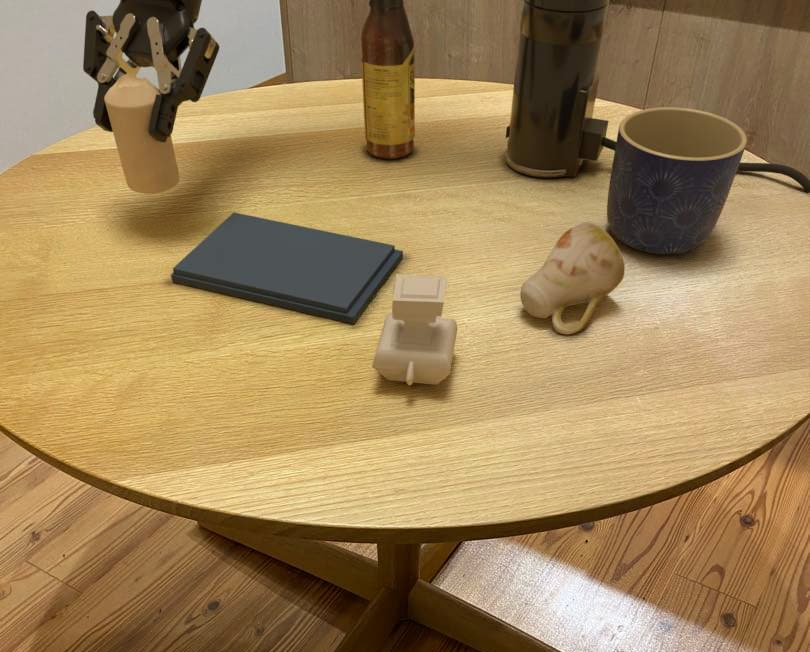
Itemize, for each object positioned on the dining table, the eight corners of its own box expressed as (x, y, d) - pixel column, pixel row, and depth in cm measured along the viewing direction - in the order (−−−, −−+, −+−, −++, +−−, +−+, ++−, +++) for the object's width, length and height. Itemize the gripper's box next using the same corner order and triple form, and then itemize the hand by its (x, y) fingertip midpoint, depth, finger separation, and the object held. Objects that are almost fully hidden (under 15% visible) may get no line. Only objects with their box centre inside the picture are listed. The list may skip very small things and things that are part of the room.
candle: (125, 174, 85) (98, 71, 77) (176, 167, 86) (155, 66, 78) (129, 197, 82) (101, 93, 74) (183, 190, 83) (161, 86, 75)
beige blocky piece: (386, 338, 74) (385, 254, 68) (457, 344, 73) (462, 260, 67) (370, 399, 68) (367, 314, 62) (447, 406, 68) (452, 321, 61)
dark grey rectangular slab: (403, 257, 83) (403, 245, 82) (353, 324, 75) (353, 311, 74) (235, 222, 88) (233, 210, 87) (172, 282, 80) (169, 269, 79)
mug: (494, 310, 77) (528, 203, 74) (563, 326, 83) (598, 227, 79) (544, 330, 72) (583, 216, 68) (614, 346, 78) (653, 242, 74)
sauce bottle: (422, 156, 99) (426, -35, 84) (375, 164, 97) (370, -29, 82) (402, 136, 103) (403, -50, 88) (357, 143, 101) (350, -45, 86)
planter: (727, 226, 88) (761, 122, 80) (693, 277, 81) (727, 170, 73) (621, 198, 92) (643, 97, 84) (580, 245, 85) (600, 140, 77)
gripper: (81, -80, 75) (44, 103, 76) (215, -63, 71) (172, 128, 73) (128, -28, 82) (92, 138, 84) (251, -11, 79) (212, 161, 80)
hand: (130, 132), depth 78 cm, fingers closed on candle, 5 cm apart
